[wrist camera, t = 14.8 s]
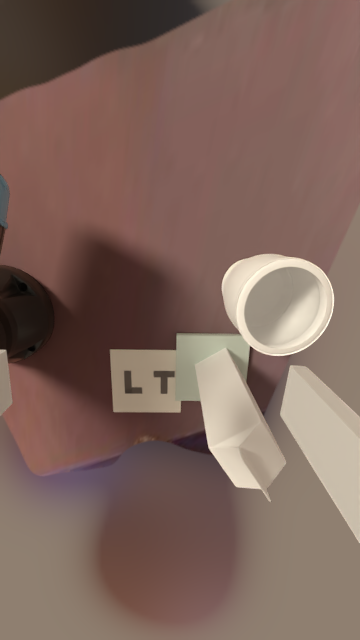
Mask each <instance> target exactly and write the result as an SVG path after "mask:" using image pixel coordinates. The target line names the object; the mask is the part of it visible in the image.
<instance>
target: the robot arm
mask: <svg viewBox="0 0 360 640" xmlns="http://www.w3.org/2000/svg"><path fill="white" fill-rule="evenodd" d="M9 195H10V192H9V187H8V184H7V182H6V181H5V179H4V178H3V177H2V175H1V174H0V254H1V249H2V244H3V239H4V234H5V229H7V228H8V224H7V222H6V218H7V211H8V203H9ZM53 327H54V311H53V307H52V304H51V301H50V299H49V297H48V295H47V293H46V292H45V290H44V289H43V288H42V286H41V285H40V284H39V283H38V282H37V281H36V280H35V279H34V278H32V277H31V276H30V275H28V274H26V273H25V272H23V271H21V270H19V269H16V268H14V267H10V266H6V265H0V416H1V415H2V414H3V412H4V411H5V410H6V409H7V408H8V407H9V406H10V405H11V404H12V394H11V385H10V377H9V368H8V363H13V362H17V361H21V360H23V359H26V358H28V357H30V356H31V355H33V354H34V353H35V352H37V351H38V350H39V349H40V348H42V347H43V346H44V345H45V344H46V342H47V341H48V339H49V338H50V336H51V334H52V331H53ZM280 416H281V417H282V419H283V421H284V422H285V424H286V426H287V427H288V429H289V430H290V432H291V433H292V435H293V437H294V438H295V440H296V442H297V443H298V445H299V446H300V448H301V449H302V451H303V453H304V454H305V456H306V458H307V459H308V461H309V463H310V464H311V466H312V467H313V469H314V471H315V472H316V474H317V475H318V477H319V479H320V480H321V482H322V483H323V485H324V487H325V488H326V490H327V492H328V493H329V495H330V496H331V498H332V499H333V501H334V503H335V504H336V506H337V508H338V509H339V510H340V512H341V514H342V515H343V517H344V519H345V520H346V522H347V524H348V525H349V527H350V529H351V530H352V532H353V533H354V535H355V537H356V538H357V540H358V541H359V543H360V417H359V416H358V415H357V414H356V413H355V412H354V411H353V410H352V409H351V408H350V407H348V406H347V405H346V404H345V403H344V402H343V401H342V400H341V399H340V398H339V397H338V396H337V395H336V394H335V393H334V392H333V391H332V390H331V389H329V388H328V387H327V386H326V385H325V384H324V383H323V382H322V381H321V380H320V379H319V378H318V377H317V376H316V375H315V374H314V373H312V372H311V371H310V370H309V369H308V368H307V367H306V366H292V365H291V366H290V369H289V374H288V379H287V383H286V388H285V393H284V397H283V402H282V407H281V412H280Z"/></svg>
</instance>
